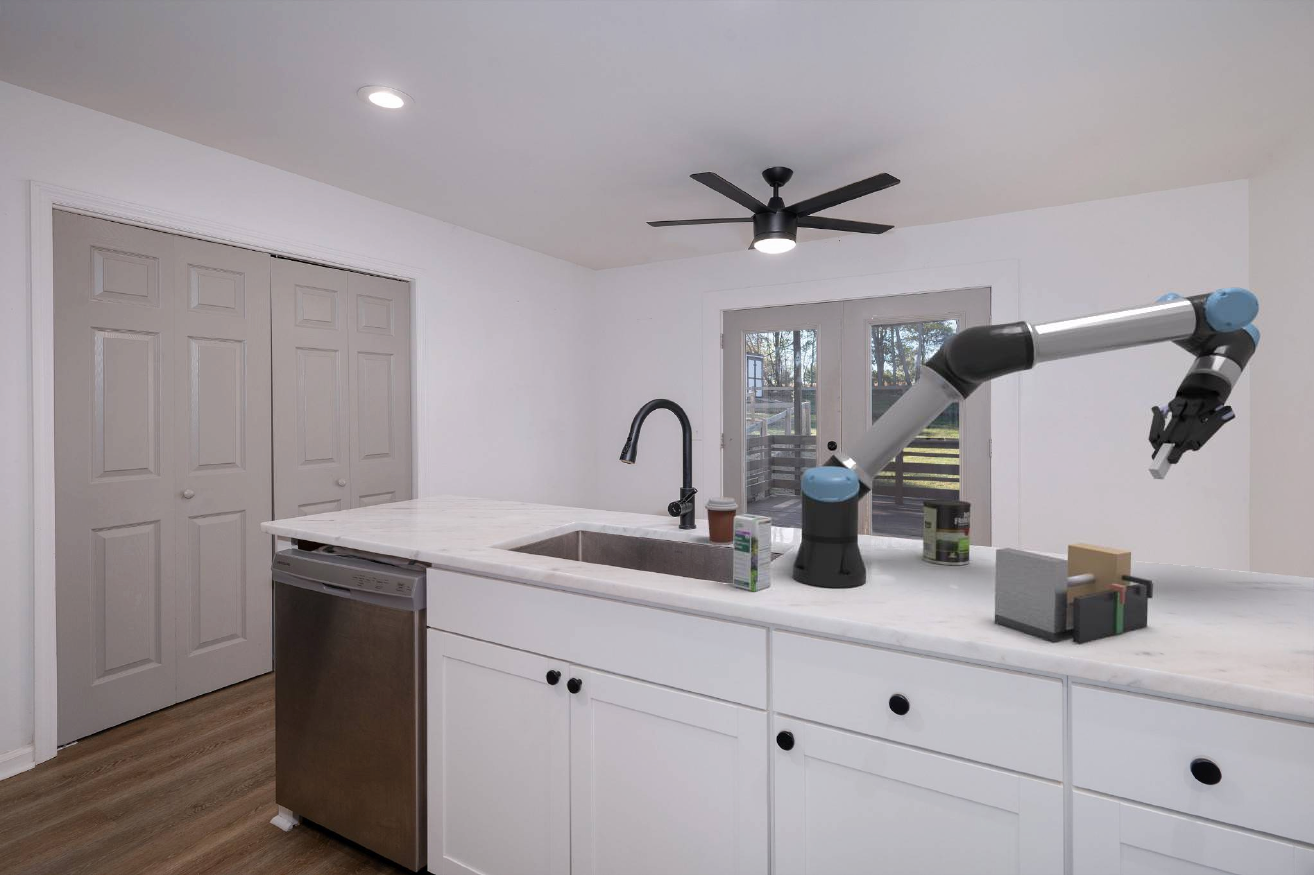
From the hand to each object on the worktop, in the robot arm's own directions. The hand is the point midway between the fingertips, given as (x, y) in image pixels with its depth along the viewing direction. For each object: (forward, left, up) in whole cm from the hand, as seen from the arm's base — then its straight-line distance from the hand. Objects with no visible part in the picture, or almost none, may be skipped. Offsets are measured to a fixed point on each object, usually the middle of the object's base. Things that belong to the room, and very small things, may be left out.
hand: (1155, 474), depth 115 cm
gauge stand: (-14, -21, -24) cm, 35 cm away
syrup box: (-69, -27, -24) cm, 77 cm away
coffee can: (-37, +17, -24) cm, 47 cm away
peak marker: (-8, -24, -19) cm, 32 cm away
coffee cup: (-92, +9, -24) cm, 95 cm away
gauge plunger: (-10, -17, -22) cm, 30 cm away
